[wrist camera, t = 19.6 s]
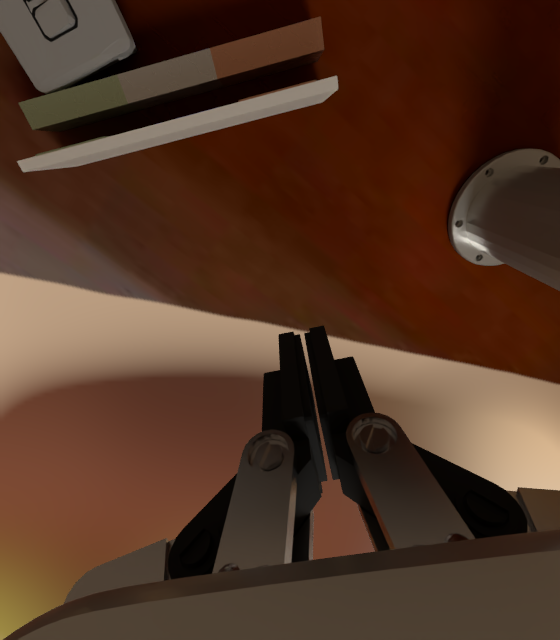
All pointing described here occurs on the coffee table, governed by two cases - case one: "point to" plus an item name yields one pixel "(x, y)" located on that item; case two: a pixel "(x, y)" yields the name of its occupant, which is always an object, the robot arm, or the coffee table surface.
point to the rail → (178, 77)
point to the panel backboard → (185, 126)
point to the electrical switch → (65, 39)
